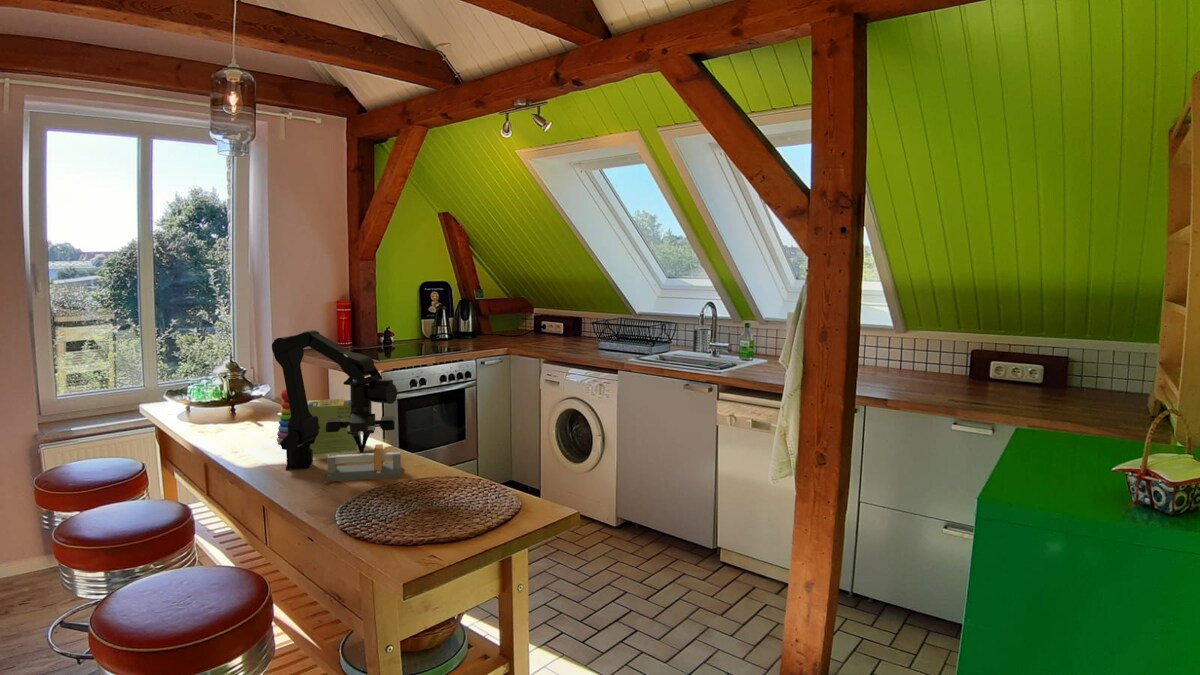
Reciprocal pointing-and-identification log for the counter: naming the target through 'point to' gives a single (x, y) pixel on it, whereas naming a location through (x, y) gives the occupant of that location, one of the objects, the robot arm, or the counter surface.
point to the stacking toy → (284, 417)
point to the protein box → (331, 440)
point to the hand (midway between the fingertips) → (361, 452)
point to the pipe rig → (363, 467)
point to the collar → (378, 457)
